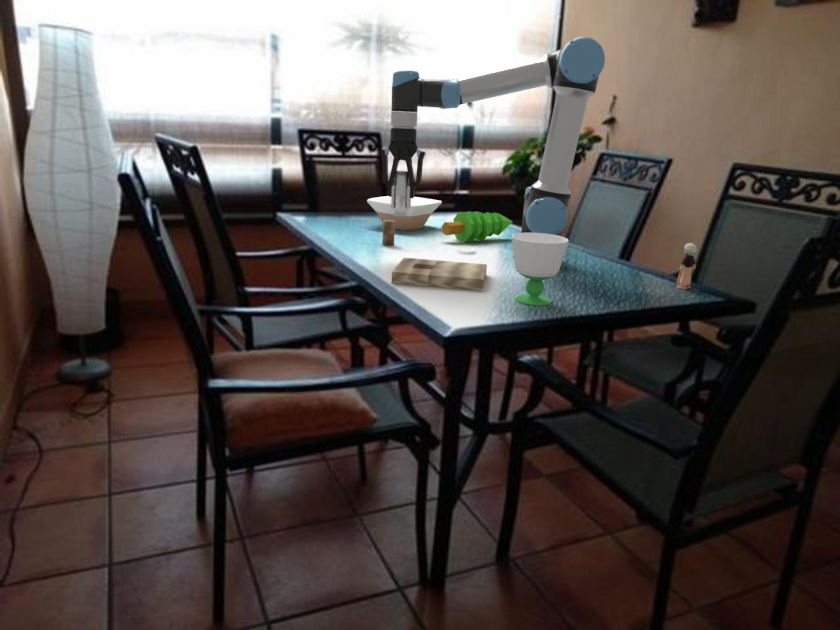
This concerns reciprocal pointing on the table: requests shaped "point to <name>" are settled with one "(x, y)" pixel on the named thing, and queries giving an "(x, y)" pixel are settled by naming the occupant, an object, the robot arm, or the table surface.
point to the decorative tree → (475, 225)
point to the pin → (401, 193)
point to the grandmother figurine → (686, 267)
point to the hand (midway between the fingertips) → (400, 208)
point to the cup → (537, 262)
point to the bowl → (415, 215)
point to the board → (440, 274)
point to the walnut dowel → (388, 232)
